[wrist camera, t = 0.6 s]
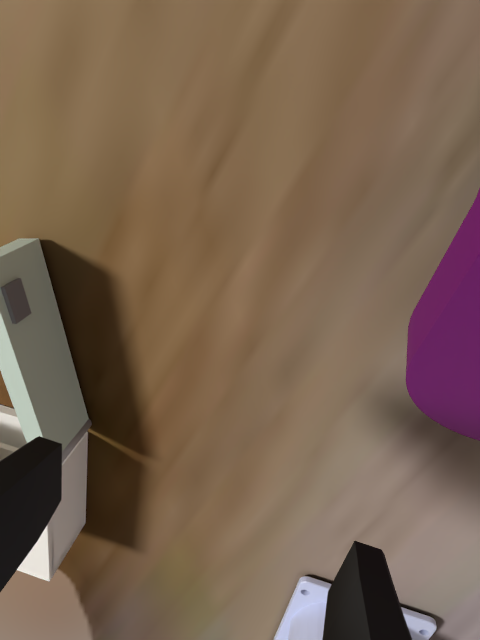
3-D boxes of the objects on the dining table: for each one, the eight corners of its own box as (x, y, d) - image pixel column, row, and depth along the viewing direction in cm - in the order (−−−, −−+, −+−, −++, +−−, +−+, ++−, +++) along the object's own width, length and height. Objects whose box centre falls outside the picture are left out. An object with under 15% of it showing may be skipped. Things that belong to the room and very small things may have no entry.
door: (77, 427, 25) (36, 478, 22) (22, 237, 20) (-43, 266, 17) (97, 429, 25) (58, 481, 21) (45, 237, 20) (-16, 266, 17)
